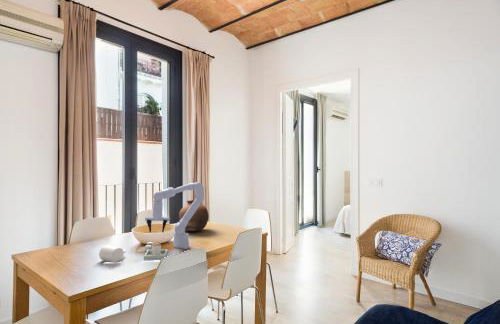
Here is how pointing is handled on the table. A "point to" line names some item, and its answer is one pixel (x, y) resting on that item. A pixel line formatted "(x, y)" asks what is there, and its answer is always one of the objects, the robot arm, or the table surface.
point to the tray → (155, 255)
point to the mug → (111, 253)
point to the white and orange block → (156, 248)
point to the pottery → (195, 217)
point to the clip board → (147, 247)
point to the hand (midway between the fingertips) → (156, 232)
